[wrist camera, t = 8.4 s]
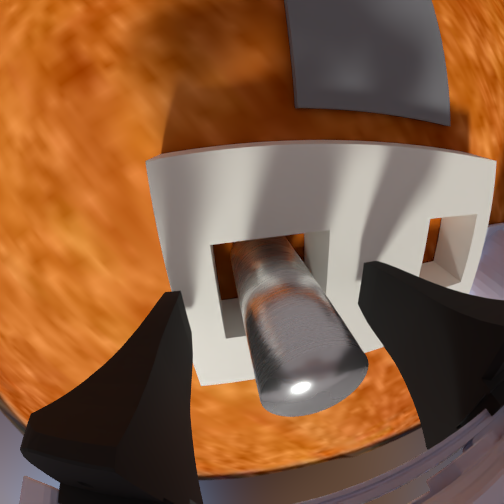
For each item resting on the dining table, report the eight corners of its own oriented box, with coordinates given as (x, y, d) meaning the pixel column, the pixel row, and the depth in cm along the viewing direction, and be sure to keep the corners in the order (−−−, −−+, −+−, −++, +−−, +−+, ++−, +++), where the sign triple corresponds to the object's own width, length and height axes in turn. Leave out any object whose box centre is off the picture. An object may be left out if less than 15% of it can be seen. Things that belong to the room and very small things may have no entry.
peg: (290, 223, 13) (380, 334, 6) (289, 277, 14) (354, 401, 7) (228, 229, 13) (258, 360, 5) (233, 284, 14) (261, 423, 7)
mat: (424, -9, 7) (428, -10, 7) (445, 125, 12) (450, 126, 11) (275, -52, 6) (277, -56, 6) (294, 108, 11) (297, 107, 10)
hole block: (462, 151, 13) (496, 161, 10) (437, 294, 17) (460, 315, 15) (160, 153, 11) (145, 161, 8) (200, 347, 15) (201, 385, 13)
